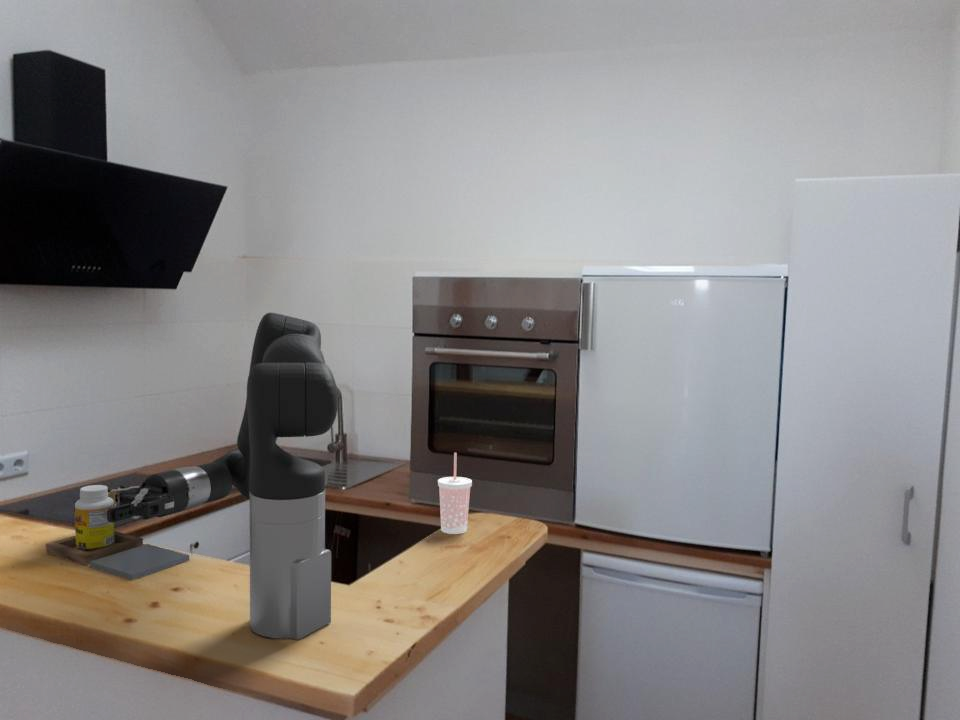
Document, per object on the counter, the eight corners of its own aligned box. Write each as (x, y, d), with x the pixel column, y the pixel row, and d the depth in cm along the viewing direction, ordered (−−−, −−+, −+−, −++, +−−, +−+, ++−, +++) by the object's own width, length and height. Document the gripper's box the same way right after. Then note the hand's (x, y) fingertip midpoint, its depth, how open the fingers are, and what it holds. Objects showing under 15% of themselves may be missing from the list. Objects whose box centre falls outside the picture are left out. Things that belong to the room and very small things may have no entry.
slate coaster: (189, 560, 122) (189, 555, 122) (132, 580, 113) (132, 574, 113) (147, 548, 127) (147, 543, 127) (89, 566, 118) (89, 561, 118)
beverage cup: (452, 522, 145) (453, 447, 143) (478, 529, 141) (479, 452, 140) (429, 530, 140) (430, 452, 139) (456, 537, 136) (457, 457, 135)
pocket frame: (143, 547, 127) (142, 538, 127) (85, 565, 119) (85, 555, 119) (104, 536, 132) (103, 528, 132) (46, 553, 124) (46, 544, 124)
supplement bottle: (74, 548, 127) (72, 485, 126) (112, 542, 129) (111, 481, 129) (77, 558, 122) (75, 493, 121) (116, 552, 125) (115, 489, 124)
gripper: (149, 464, 142) (63, 482, 128) (204, 475, 135) (119, 495, 121) (150, 505, 142) (64, 527, 128) (205, 517, 135) (120, 542, 121)
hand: (91, 511), depth 125 cm, fingers open, 8 cm apart
